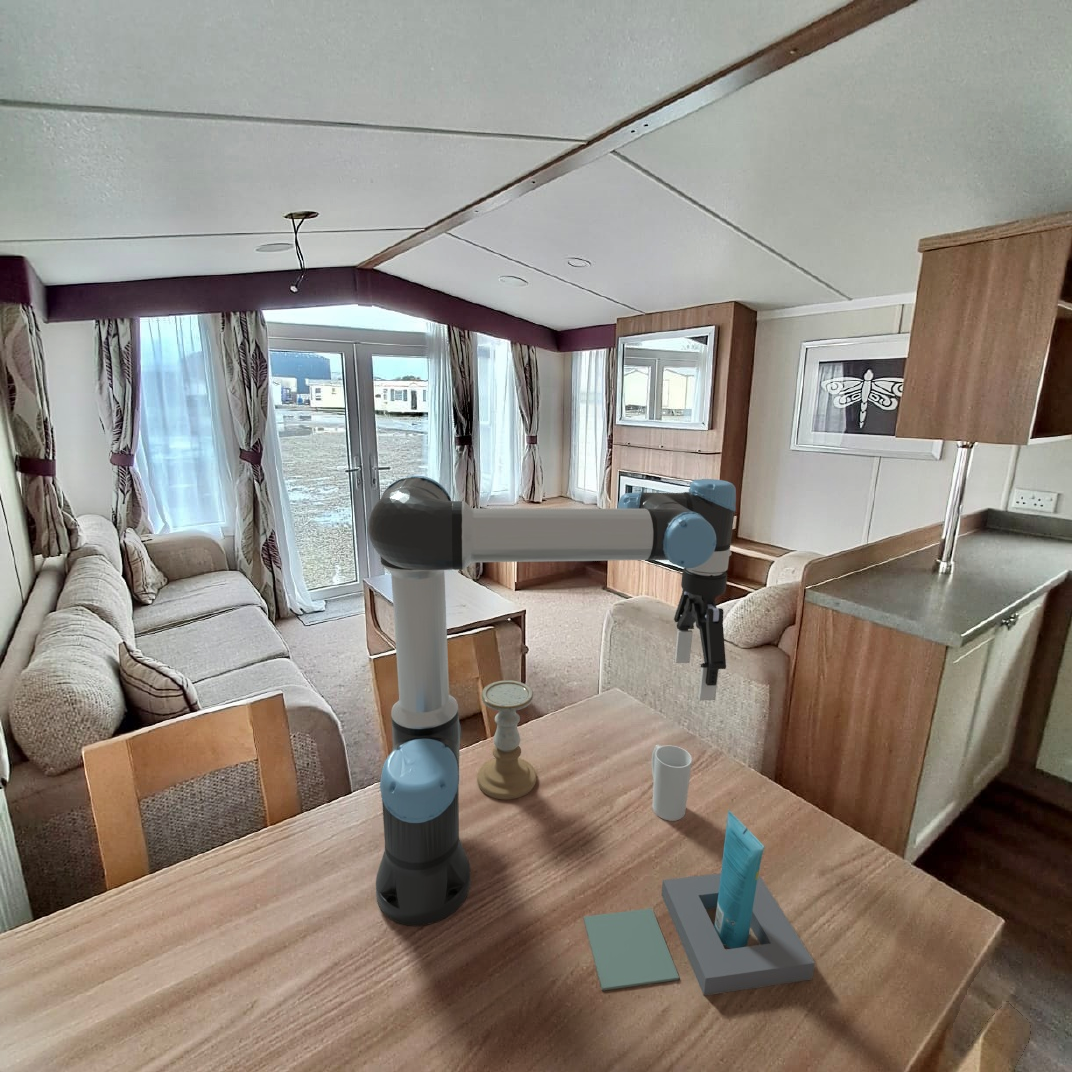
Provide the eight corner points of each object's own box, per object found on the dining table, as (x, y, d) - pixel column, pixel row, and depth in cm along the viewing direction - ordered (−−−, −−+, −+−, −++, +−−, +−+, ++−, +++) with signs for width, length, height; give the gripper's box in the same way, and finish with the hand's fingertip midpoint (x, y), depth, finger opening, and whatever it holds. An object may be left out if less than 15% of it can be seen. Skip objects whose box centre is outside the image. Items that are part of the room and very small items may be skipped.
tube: (761, 949, 85) (778, 840, 80) (736, 962, 83) (752, 852, 78) (724, 908, 91) (738, 806, 86) (701, 920, 89) (713, 815, 84)
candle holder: (536, 801, 114) (538, 710, 109) (473, 799, 114) (472, 708, 109) (536, 761, 126) (538, 678, 120) (480, 760, 126) (479, 676, 121)
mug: (693, 817, 110) (699, 763, 107) (663, 826, 108) (668, 770, 105) (664, 784, 119) (669, 733, 116) (636, 791, 117) (640, 739, 114)
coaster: (602, 990, 79) (602, 988, 78) (583, 918, 89) (583, 916, 89) (678, 979, 80) (679, 977, 80) (651, 910, 91) (652, 908, 91)
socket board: (703, 995, 78) (705, 978, 77) (661, 894, 93) (662, 879, 93) (811, 979, 81) (815, 962, 80) (753, 884, 96) (755, 869, 95)
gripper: (757, 594, 88) (741, 717, 94) (701, 549, 112) (691, 648, 118) (709, 594, 88) (696, 718, 93) (663, 548, 112) (655, 649, 117)
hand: (693, 679), depth 106 cm, fingers open, 13 cm apart
